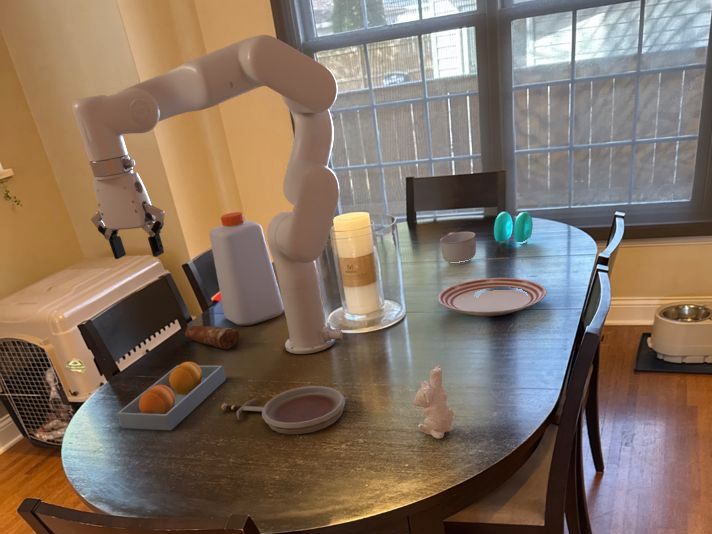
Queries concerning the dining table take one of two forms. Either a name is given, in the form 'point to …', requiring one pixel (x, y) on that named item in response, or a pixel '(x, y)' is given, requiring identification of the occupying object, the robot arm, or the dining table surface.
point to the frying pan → (299, 409)
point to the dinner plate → (491, 296)
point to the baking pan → (182, 404)
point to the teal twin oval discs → (505, 227)
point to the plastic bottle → (244, 271)
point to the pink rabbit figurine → (434, 406)
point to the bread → (213, 336)
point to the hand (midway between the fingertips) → (139, 256)
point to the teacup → (458, 247)
